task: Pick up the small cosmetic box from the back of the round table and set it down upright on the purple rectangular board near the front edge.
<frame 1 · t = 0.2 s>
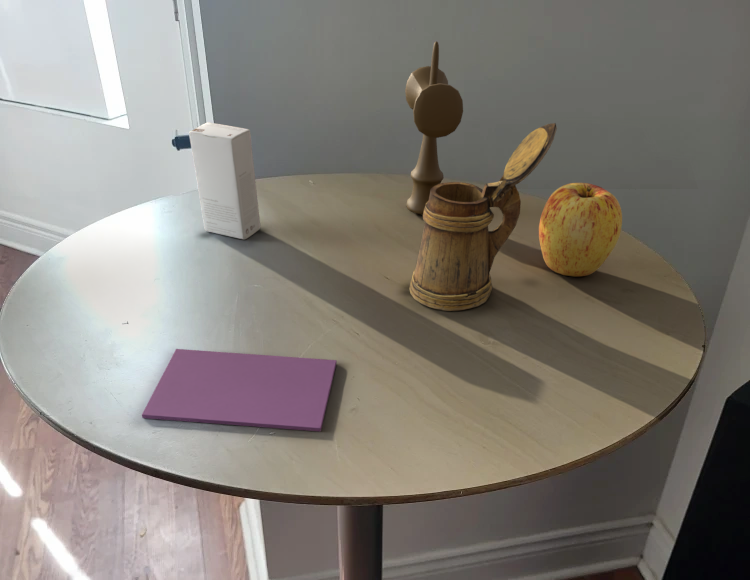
kendama: (424, 211, 104), on the table
cosmetic box: (231, 232, 98), on the table
apple: (570, 271, 92), on the table
wooden mug: (469, 293, 88), on the table
purple rectangular board: (244, 389, 73), on the table
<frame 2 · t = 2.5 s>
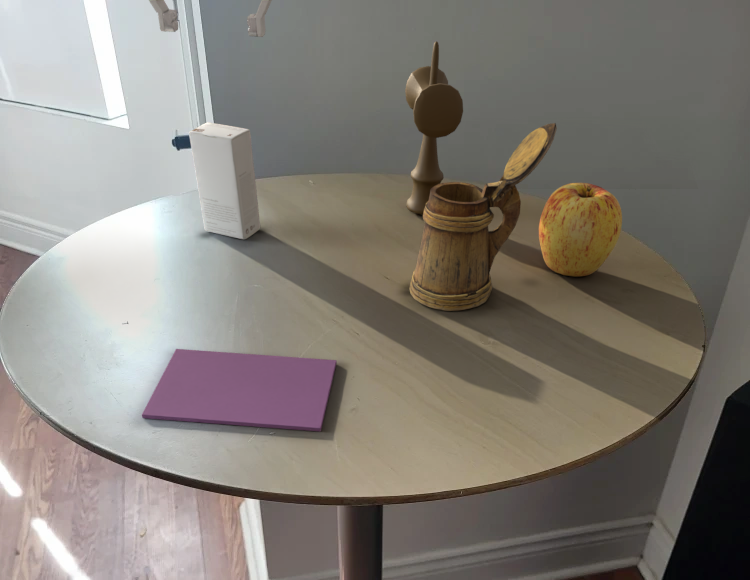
hand: (213, 33, 82), 22 cm above the table, tool pointing down, fingers open, 8 cm apart
nothing on the table moved.
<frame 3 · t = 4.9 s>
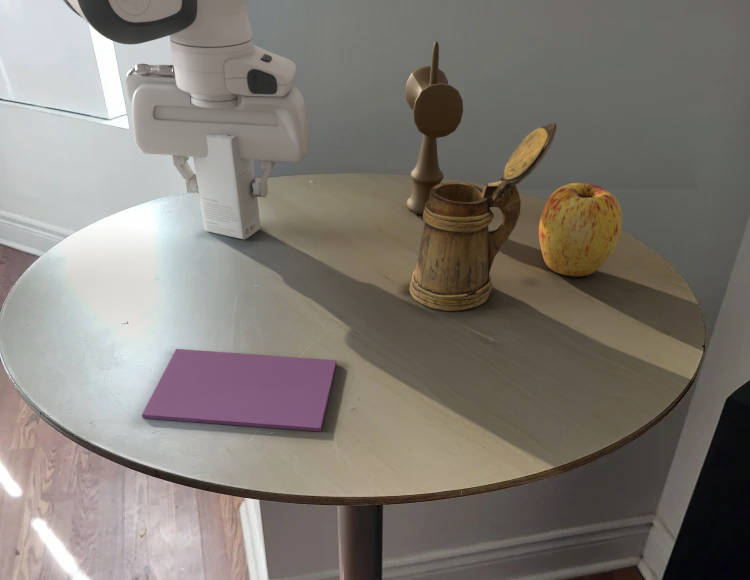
hand: (228, 193, 95), 5 cm above the table, tool pointing down, fingers closed on cosmetic box, 7 cm apart
cosmetic box: (231, 232, 98), on the table, touching gripper
everything else where it was.
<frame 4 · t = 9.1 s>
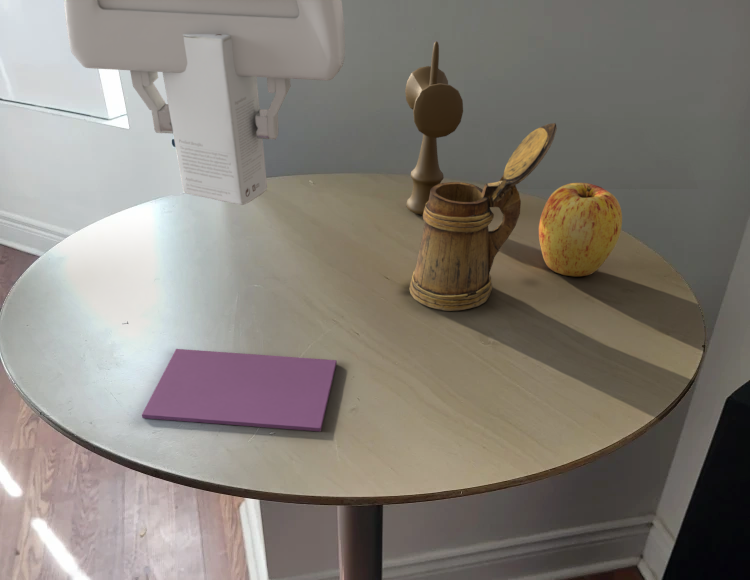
hand: (218, 134, 62), 21 cm above the table, tool pointing down, fingers closed on cosmetic box, 7 cm apart
cosmetic box: (223, 195, 65), point 16 cm above the table, touching gripper
everything else where it was.
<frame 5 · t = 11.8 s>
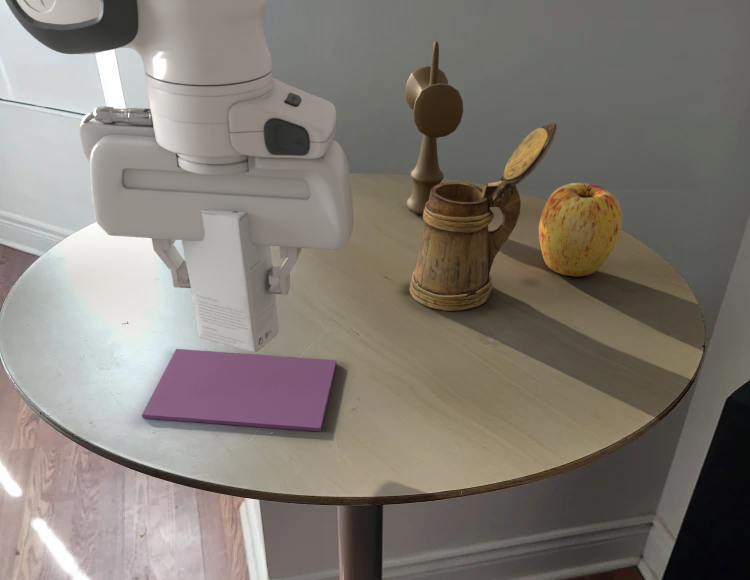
hand: (233, 288, 66), 10 cm above the table, tool pointing down, fingers closed on cosmetic box, 7 cm apart
cosmetic box: (237, 338, 69), point 5 cm above the table, touching gripper
everything else where it was.
when the fingers open (5 cm above the table, at t = 13.7 s): cosmetic box stays where it is, resting on purple rectangular board.
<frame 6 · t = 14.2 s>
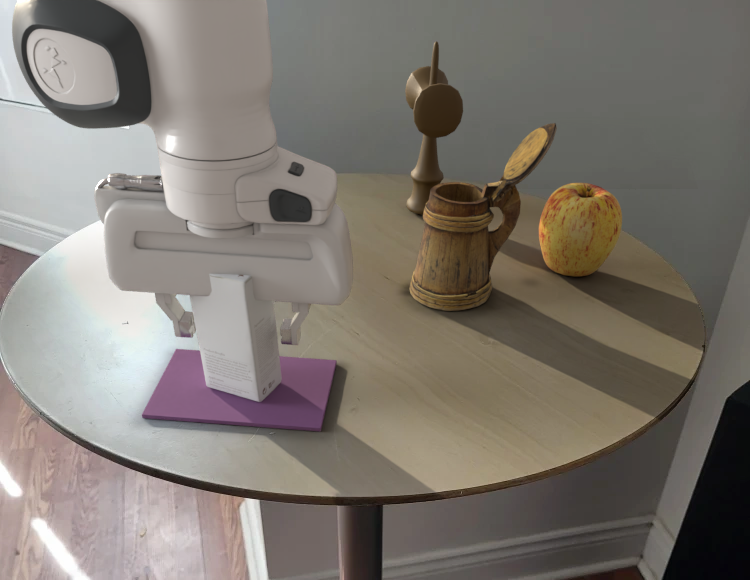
hand: (238, 337, 69), 6 cm above the table, tool pointing down, fingers open, 8 cm apart
cosmetic box: (242, 387, 72), resting on purple rectangular board
everything else where it was.
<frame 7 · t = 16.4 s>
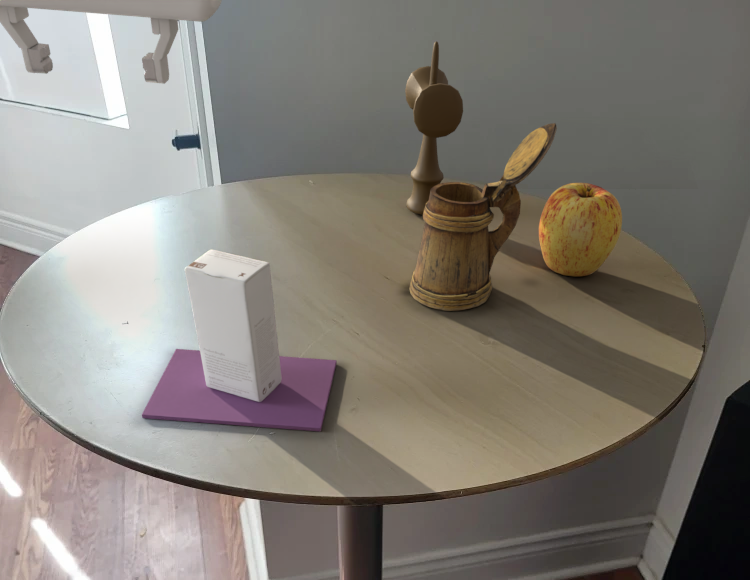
hand: (99, 76, 61), 24 cm above the table, tool pointing down, fingers open, 8 cm apart
nothing on the table moved.
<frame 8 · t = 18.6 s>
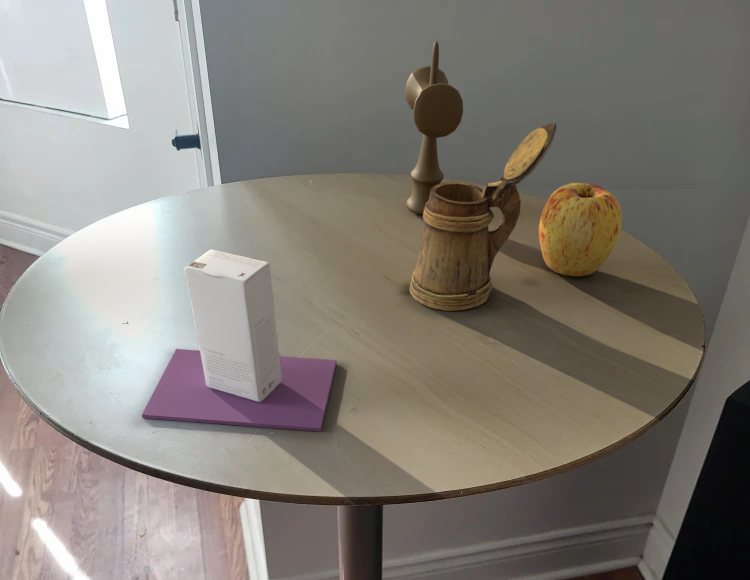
nothing on the table moved.
at the end: cosmetic box inside the target area on the purple rectangular board (0.1 cm from its centre), point 0.2 cm above the purple rectangular board's base; cosmetic box tilted 0°; the gripper is holding nothing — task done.
